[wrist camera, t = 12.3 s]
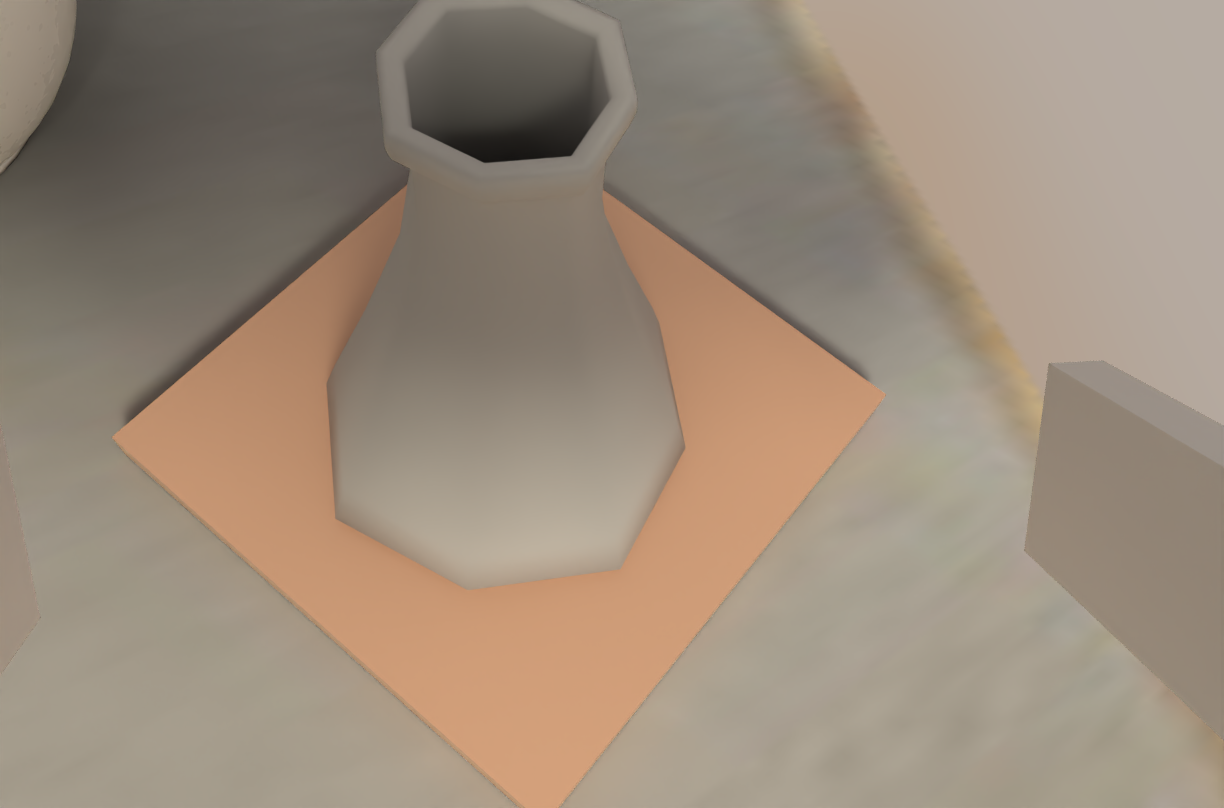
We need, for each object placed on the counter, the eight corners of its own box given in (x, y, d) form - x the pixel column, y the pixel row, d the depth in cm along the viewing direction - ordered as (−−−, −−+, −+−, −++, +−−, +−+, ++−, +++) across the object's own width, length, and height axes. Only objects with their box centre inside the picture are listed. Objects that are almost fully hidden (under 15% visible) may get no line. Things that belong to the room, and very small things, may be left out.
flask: (659, 628, 21) (777, 393, 12) (276, 560, 21) (99, 272, 12) (704, 300, 24) (825, -83, 15) (373, 241, 24) (292, -180, 15)
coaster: (124, 453, 22) (111, 437, 21) (494, 133, 26) (494, 110, 26) (543, 828, 20) (544, 824, 19) (874, 410, 24) (886, 394, 23)
